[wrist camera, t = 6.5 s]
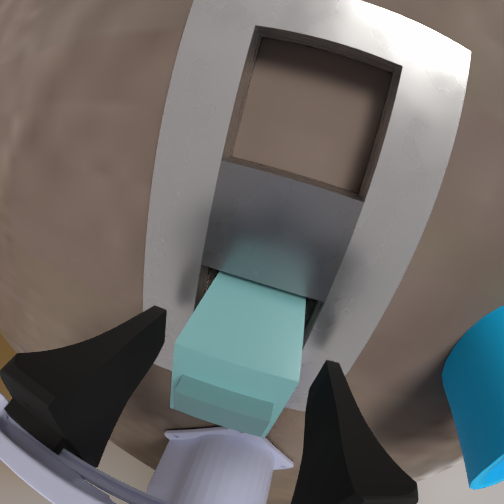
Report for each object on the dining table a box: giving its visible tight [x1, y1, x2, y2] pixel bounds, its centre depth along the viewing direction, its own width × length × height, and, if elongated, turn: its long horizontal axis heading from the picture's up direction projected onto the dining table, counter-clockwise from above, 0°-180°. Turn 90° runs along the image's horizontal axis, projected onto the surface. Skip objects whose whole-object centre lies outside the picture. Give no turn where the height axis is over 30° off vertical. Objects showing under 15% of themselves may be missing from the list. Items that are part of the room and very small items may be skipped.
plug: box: [170, 271, 306, 438], centre depth 12 cm, size 4×4×7 cm
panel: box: [143, 0, 471, 412], centre depth 12 cm, size 20×11×2 cm, turn 167°
